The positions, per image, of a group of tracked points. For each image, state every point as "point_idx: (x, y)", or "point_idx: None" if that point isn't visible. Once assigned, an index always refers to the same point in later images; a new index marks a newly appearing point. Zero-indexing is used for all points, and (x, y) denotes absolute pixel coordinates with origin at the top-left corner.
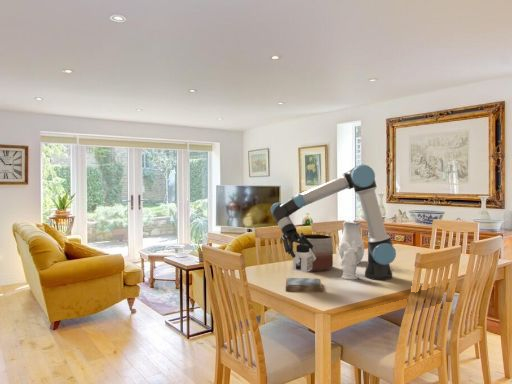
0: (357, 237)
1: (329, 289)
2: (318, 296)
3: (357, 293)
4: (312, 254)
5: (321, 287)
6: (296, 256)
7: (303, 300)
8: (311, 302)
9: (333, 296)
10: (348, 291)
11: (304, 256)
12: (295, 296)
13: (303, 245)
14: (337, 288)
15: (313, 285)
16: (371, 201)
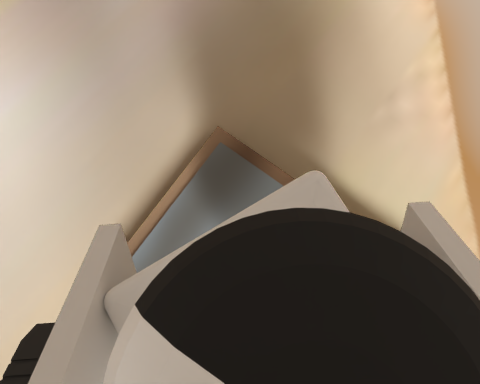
0: None
1: (143, 157)
2: (296, 81)
3: (71, 19)
4: (99, 293)
5: (222, 129)
6: (477, 265)
7: (412, 65)
8: (393, 20)
9: (224, 41)
10: (81, 70)
11: (340, 209)
12: (413, 145)
13: (380, 313)
14: (86, 149)
15: (256, 167)
16: None
